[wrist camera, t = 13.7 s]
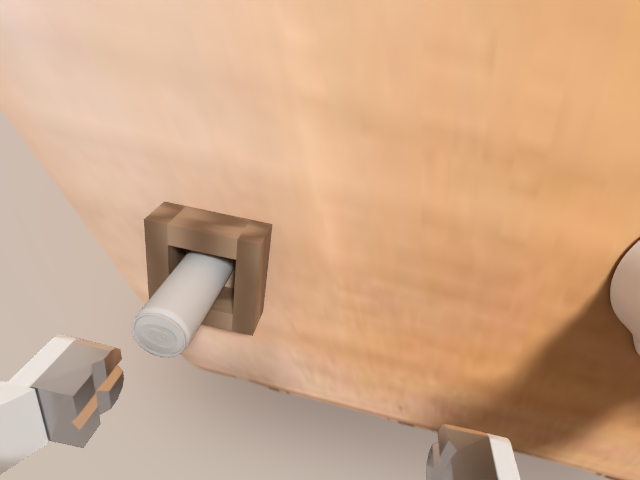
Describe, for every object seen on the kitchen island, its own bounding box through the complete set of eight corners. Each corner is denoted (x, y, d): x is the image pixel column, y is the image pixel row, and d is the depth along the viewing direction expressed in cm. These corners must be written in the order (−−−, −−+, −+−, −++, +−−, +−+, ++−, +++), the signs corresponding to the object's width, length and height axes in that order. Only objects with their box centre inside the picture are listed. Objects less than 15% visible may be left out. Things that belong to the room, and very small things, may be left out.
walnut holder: (272, 224, 42) (261, 244, 39) (262, 311, 48) (252, 335, 44) (164, 201, 43) (144, 219, 39) (167, 290, 48) (149, 312, 45)
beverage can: (230, 284, 46) (182, 366, 36) (187, 269, 46) (127, 347, 36) (239, 248, 44) (190, 325, 34) (194, 232, 44) (132, 304, 34)
